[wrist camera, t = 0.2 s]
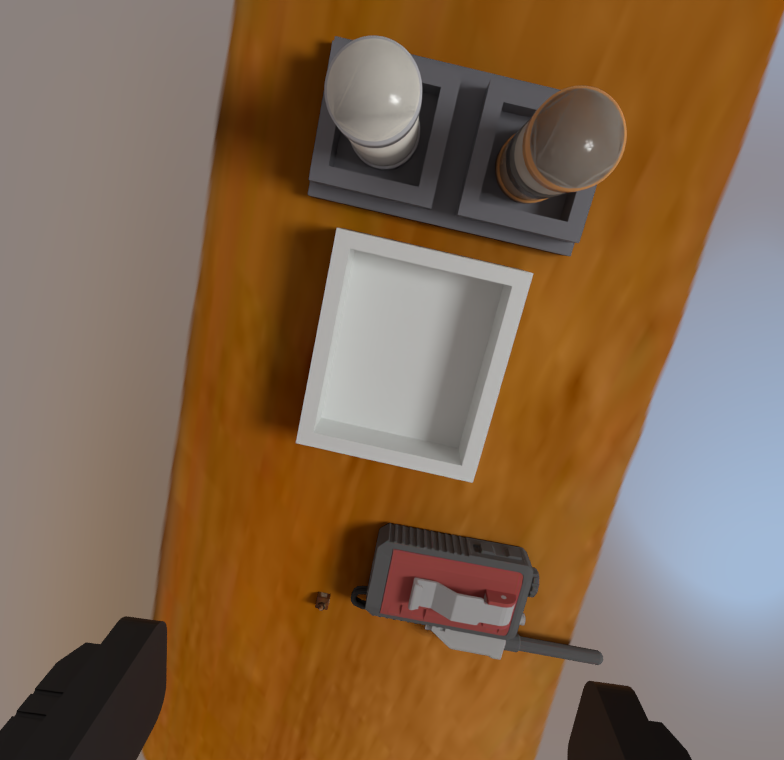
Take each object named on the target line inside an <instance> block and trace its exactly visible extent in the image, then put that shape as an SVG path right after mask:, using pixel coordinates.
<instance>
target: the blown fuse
mask: <svg viewBox="0 0 784 760" xmlns="http://www.w3.org/2000/svg"><path fill="white" fill-rule="evenodd" d="M626 137H627V129H626V122H625V118H624V115H623V113H622V110H621V109H620V107H619V105H618V104H617V103H616V101H615V100H614V99H613V98H612V97H611V96H610V95H608V94H607V93H606V92H604V91H602V90H600V89H598V88H595V87H591V86H572V87H569V88H565V89H563V90H561V91H559V92H557V93H555V94H553V95H552V96H551V97H550V98H548V99H547V100H546V101H545V102H544V103H543V104H542V105H541V106H540V107H539V108H538V109H537V110H536V112H535V113H534V114H533V115H532V117H531V118H530V119H529V120H528V121H527V122H526V123H525V124H524V125H523V126H522V127H521V128H520V129H519V130H518V131H517V132H516V133H515V134H514V135H512V136H511V137H510V138H509V139H508V140H507V141H506V142H505V143H504V145H503V146H502V147H501V149H500V151H499V153H498V155H497V158H496V162H495V177H496V181H497V184H498V186H499V188H500V189H501V191H502V192H503V193H504V194H505V195H506V196H507V197H508V198H510V199H511V200H513V201H515V202H518V203H523V204H531V203H536V202H540V201H543V200H546V199H548V198H551V197H555V196H558V195H562V194H565V193H571V192H576V191H580V190H584V189H587V188H590V187H593V186H595V185H596V184H598V183H600V182H601V181H603V180H604V179H605V178H606V177H608V176H609V175H610V174H611V172H612V171H613V170H614V169H615V167H616V166H617V165H618V163H619V161H620V159H621V157H622V155H623V152H624V149H625V145H626Z"/></svg>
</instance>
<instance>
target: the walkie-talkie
mask: <svg viewBox="0 0 784 760" xmlns="http://www.w3.org/2000/svg"><path fill="white" fill-rule="evenodd" d="M538 587H539V573H538V571H537V569H536V568H533V567H532V566H531V563H530V560H529V557H528V555H527V552H526V551H525V550H524V549H523V548H521V547H516V546H511V545H505V544H500V543H494V542H489V541H484V540H478V539H473V538H468V537H466V538H464V537H461V536H454V535H448V534H446V533H445V534H442V533H440V532H433V531H426V530H425V529H424V530H421V529H419V528H416V529H415V528H412V527H405V526H399V525H398V524H395V525H394V524H391V523H389V524H387V525H385V526H383V527H382V528H380V529H379V534H378V539H377V544H376V549H375V554H374V559H373V564H372V569H371V574H370V579H369V584H368V586H357V587H356V588H354V590H353V592H352V594H351V602H352V603H353V605H355V606H357V607H359V608H361V609H366V610H367V611H368V612H369V613H370V614H371V615H373V616H374V615H375V616H378V617H386V618H392V619H393V620H395V619H397V620H400V621H407V622H413V623H415V624H417V623H419V624H422V625H425V629H427V630H431V631H432V632H434V633H435V634H436V635H437V636H438V637H439V638H440V639H441V640H442V641H443V642H444V643H445V644H446V645H447V646H448V647H449V648H450V649H455V650H460V651H465V652H471V653H476V654H481V655H487V656H489V657H491V658H494V659H499V660H500V659H501V656H502V653H503V650H507V651H513V652H518V651H524V652H529V653H535V654H540V655H545V656H551V657H556V658H562V659H567V660H573V661H578V662H584V663H589V664H595V665H599V664H601V663H602V661H603V656H602V654H601V653H600V652H599V651H598V650H592V649H586V648H581V647H576V646H570V645H565V644H560V643H554V642H549V641H543V640H538V639H532V638H527V637H521V636H519V634H517V631H518V628H519V625H524V624H525V616H524V615H525V614H524V613H523V611H524V607H525V604H526V600H527V597H534V596H535V595H536V594H537V591H538ZM359 594H366V595H367V598H366V601H364V600H361V599H359V598H358V597H357V595H359Z"/></svg>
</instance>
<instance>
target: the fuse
mask: <svg viewBox="0 0 784 760" xmlns="http://www.w3.org/2000/svg"><path fill="white" fill-rule="evenodd" d="M324 94H325V101H326V105H327V109H328V111H329V114H330V116H331V118H332V120H333V121H334V123H335V124H336V126H337V127H338V128H339V130H340V131H341V132H342V133H343V134H344V136H346V137H347V138H348V139H349V141H350V142H351V145H352V147H353V149H354V151H355V152H356V154H357V155H358V157H359V158H360V159H361V160H362V161H363V162H364V163H365V164H367V165H368V166H370V167H372V168H374V169H377V170H385V171H387V170H393V169H397V168H399V167H401V166H403V165H404V164H405V163H407V162H408V161H409V160H410V159H411V158H412V156H413V155H414V153H415V151H416V149H417V147H418V144H419V139H420V122H419V113H420V109H421V103H422V80H421V75H420V72H419V69H418V67H417V64H416V62H415V61H414V59H413V57H412V56H411V55H410V53H409V52H408V51H407V50H406V49H405V48H404V47H403V46H402V45H400V44H399V43H397V42H395V41H393V40H391V39H389V38H386V37H382V36H365V37H361V38H358V39H355V40H353V41H351V42H350V43H348V44H347V45H345V46H344V47H343V48H342V49H341V50H340V51H339V52H338V53H337V54H336V56H335V57H334V58H333V60H332V62H331V64H330V66H329V68H328V71H327V74H326V78H325V86H324Z"/></svg>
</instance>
